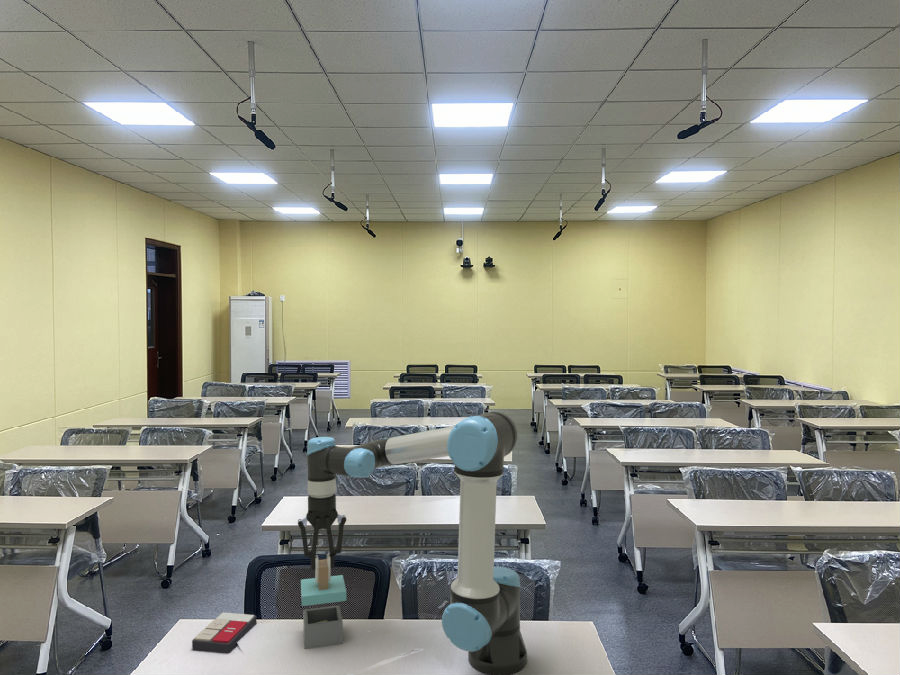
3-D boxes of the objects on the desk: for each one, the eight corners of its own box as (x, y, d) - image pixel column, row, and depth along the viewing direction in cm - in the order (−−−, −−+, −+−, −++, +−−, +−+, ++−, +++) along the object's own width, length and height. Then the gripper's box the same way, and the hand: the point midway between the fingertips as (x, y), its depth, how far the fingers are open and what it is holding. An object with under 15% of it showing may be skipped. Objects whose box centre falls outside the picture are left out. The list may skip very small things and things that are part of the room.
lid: (346, 600, 161) (346, 568, 161) (301, 606, 158) (301, 573, 158) (342, 583, 172) (342, 554, 172) (300, 588, 169) (300, 558, 169)
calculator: (191, 638, 161) (221, 609, 176) (191, 653, 161) (222, 624, 176) (228, 641, 159) (256, 612, 174) (229, 657, 159) (257, 627, 174)
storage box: (342, 647, 162) (342, 621, 162) (304, 652, 159) (304, 626, 159) (339, 629, 172) (339, 605, 172) (303, 634, 169) (303, 609, 169)
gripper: (349, 488, 171) (350, 571, 171) (292, 493, 167) (293, 578, 167) (351, 495, 164) (353, 581, 164) (292, 500, 160) (293, 588, 160)
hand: (322, 579), depth 165 cm, fingers closed on lid, 2 cm apart
